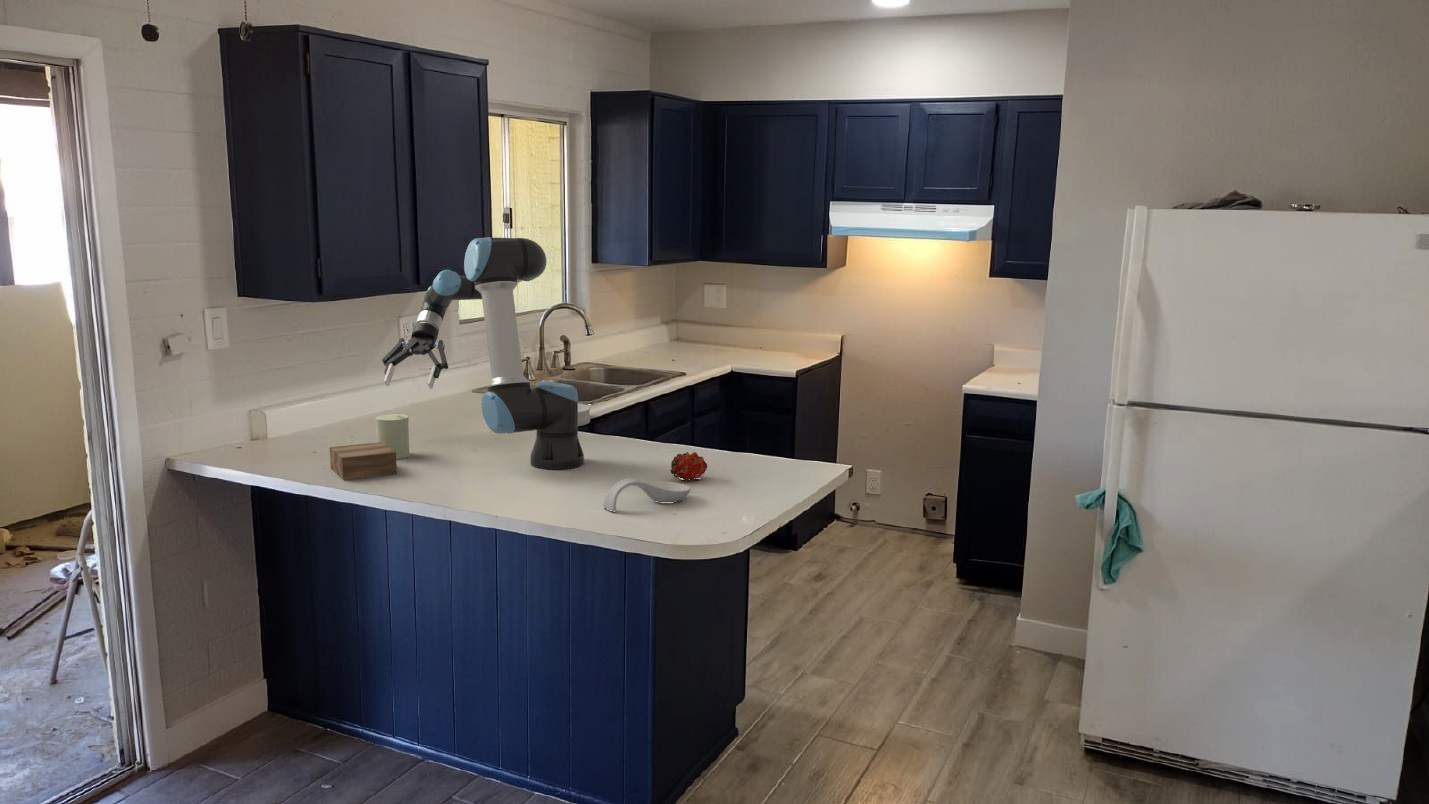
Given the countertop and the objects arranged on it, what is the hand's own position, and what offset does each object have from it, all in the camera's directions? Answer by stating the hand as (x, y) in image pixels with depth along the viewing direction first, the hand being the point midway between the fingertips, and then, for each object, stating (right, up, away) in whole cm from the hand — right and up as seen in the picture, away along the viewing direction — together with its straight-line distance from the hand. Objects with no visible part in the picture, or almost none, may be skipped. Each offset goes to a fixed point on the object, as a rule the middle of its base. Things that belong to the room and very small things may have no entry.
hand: (407, 384), depth 304 cm
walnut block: (-4, -24, -27) cm, 36 cm away
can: (-2, -21, -9) cm, 23 cm away
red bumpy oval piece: (+85, -26, -27) cm, 93 cm away
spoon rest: (+75, -31, -51) cm, 96 cm away
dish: (+38, -12, +46) cm, 61 cm away
